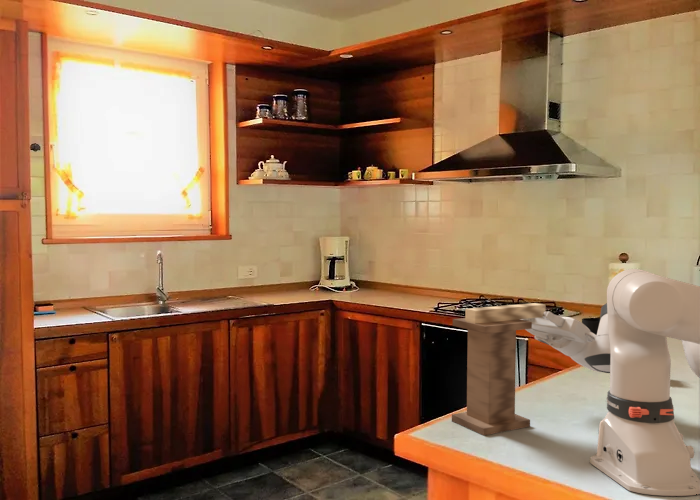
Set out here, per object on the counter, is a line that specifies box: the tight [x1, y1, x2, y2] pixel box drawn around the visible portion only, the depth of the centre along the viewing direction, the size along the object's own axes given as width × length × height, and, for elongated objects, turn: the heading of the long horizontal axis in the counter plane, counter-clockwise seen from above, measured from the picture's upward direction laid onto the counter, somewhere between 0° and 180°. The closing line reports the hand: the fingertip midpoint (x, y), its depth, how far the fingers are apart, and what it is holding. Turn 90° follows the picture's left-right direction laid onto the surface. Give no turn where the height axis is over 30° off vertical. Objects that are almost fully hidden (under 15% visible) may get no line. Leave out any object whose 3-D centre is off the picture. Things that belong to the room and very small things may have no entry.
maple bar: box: [464, 302, 547, 324], centre depth 160 cm, size 22×4×3 cm, turn 118°
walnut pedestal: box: [451, 317, 532, 436], centre depth 159 cm, size 14×12×25 cm
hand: (531, 311), depth 164 cm, fingers open, 8 cm apart
